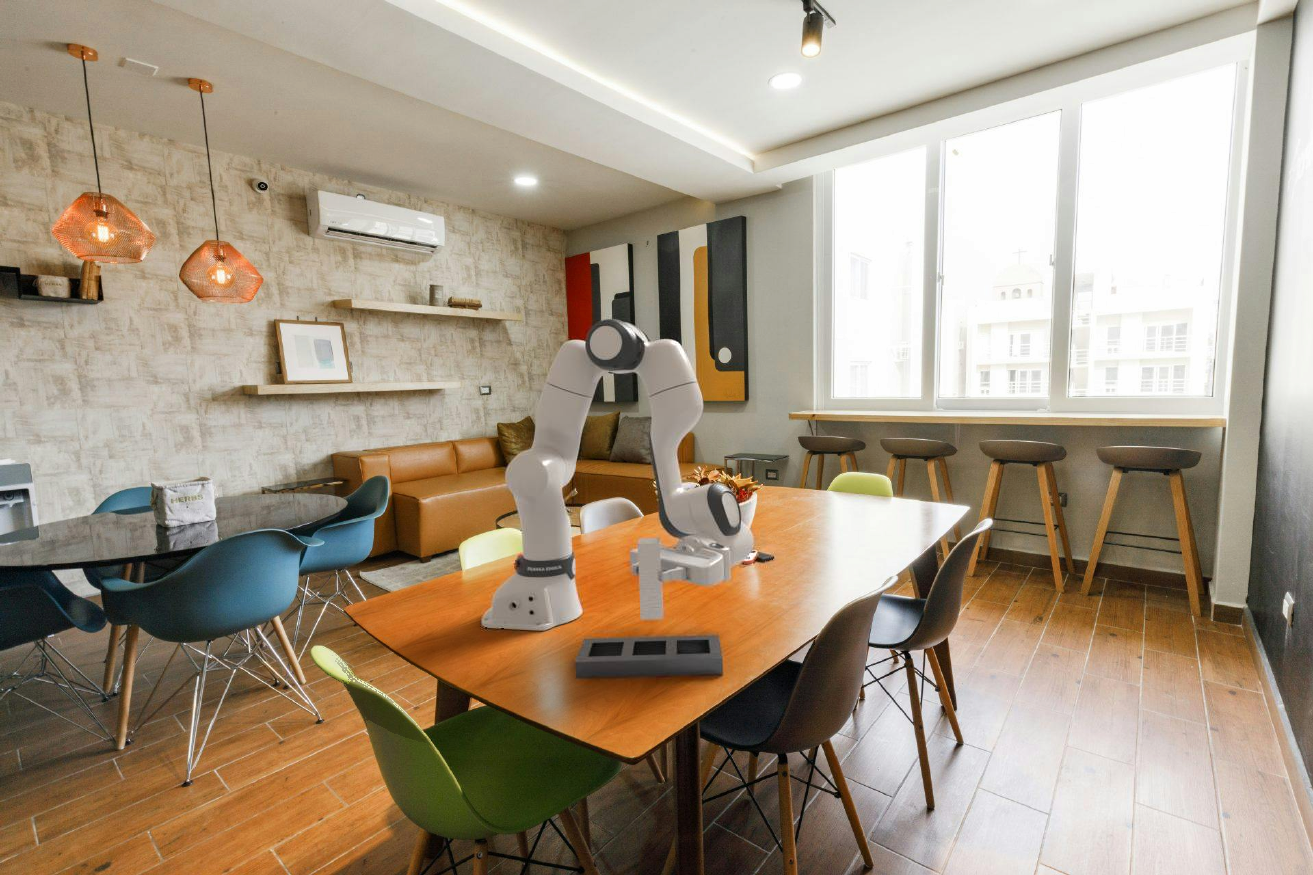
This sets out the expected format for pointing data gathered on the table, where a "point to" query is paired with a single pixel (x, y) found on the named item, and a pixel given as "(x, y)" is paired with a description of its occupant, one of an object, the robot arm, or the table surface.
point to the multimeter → (757, 557)
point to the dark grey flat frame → (649, 656)
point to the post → (650, 578)
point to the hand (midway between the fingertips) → (646, 573)
